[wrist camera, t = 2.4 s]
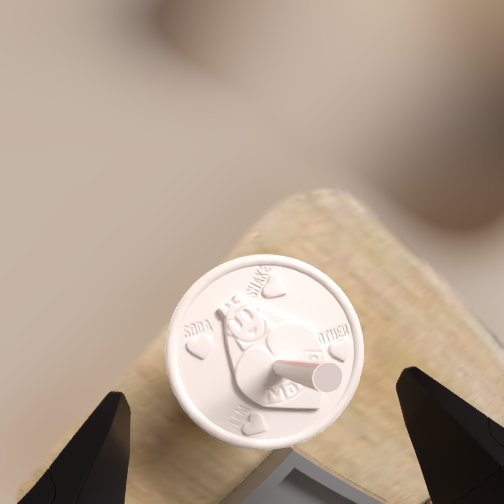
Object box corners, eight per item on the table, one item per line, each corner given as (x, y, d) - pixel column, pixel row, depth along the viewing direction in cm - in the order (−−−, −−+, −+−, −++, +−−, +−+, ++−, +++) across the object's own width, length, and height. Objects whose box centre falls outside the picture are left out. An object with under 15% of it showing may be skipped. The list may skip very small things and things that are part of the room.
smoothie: (239, 423, 17) (278, 565, 3) (171, 343, 18) (50, 316, 5) (318, 357, 18) (491, 348, 5) (252, 280, 20) (312, 131, 6)
